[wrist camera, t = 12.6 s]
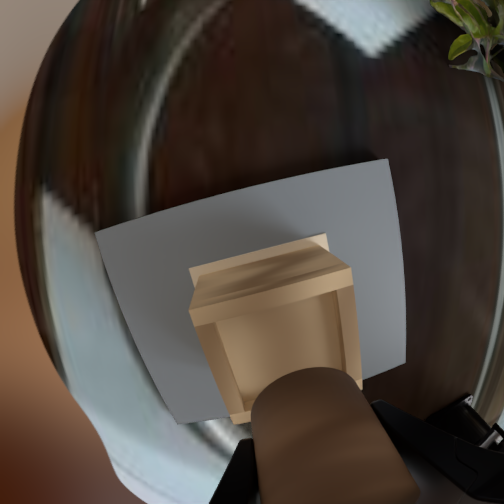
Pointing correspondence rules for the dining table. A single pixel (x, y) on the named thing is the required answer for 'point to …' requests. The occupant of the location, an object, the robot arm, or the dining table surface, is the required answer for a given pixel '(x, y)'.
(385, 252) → the grey rectangular plate
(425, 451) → the robot arm
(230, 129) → the dining table surface
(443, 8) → the passion flower
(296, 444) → the walnut peg
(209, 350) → the oak socket block
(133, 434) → the dining table surface
